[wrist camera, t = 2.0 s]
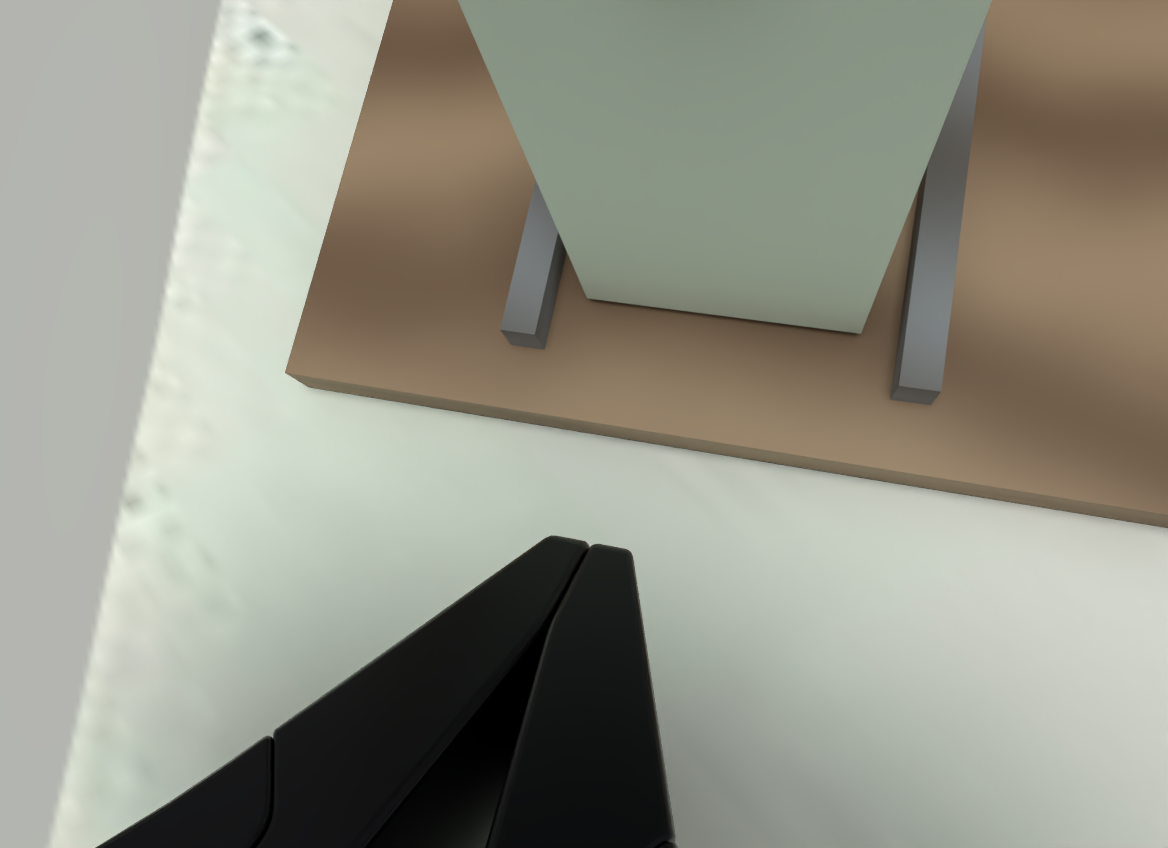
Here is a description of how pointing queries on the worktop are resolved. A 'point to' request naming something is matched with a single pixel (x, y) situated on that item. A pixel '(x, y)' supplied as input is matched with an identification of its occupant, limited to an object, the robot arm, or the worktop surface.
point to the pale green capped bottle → (729, 141)
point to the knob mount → (781, 351)
